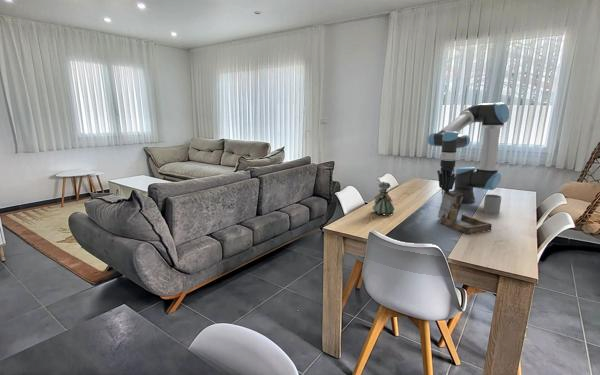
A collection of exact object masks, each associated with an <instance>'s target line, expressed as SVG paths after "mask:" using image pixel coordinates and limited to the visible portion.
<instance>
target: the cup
mask: <svg viewBox="0 0 600 375" xmlns="http://www.w3.org/2000/svg"><path fill="white" fill-rule="evenodd" d="M501 201H502V196H501V195H498V194H485V195H484V204H483V213H485V212H486V213H485V214H489V215H499V214H500V210H501V203H502V202H501Z"/></svg>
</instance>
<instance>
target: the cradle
mask: <svg viewBox="0 0 600 375" xmlns="http://www.w3.org/2000/svg"><path fill="white" fill-rule="evenodd" d="M439 224H441V225H442V226H443V225H444V226H445V227H448V228H451V229H453V230H455V231H457V232H460V233H461V234H464V235H467V234H468V235H472V234H471V233H473V234H478V233H477V232H479V233H483V231H485V232H489V231H488V230H491V231H492V223H490V222H487V221H484V220H481V219H478V218H477V217H476V218H475V217H473V216H470V215H467V214H464V213H461V217H460V218H459V219H458V218H457V219H456V220H449V219H447V218H444V217H441V219H440V223H439Z"/></svg>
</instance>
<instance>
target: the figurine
mask: <svg viewBox="0 0 600 375" xmlns="http://www.w3.org/2000/svg"><path fill="white" fill-rule="evenodd" d="M378 188H379V193H378V194H377V195H375V196H374V205H373V206H372V209H373V211H374V212H375V213H376V212H377V213H376V214H377V215H379V214H385V215H391V214H393V215H394V211H395V207H394V205H393V203H392V201H393V199H392V198H391V197H390V195H389V191H388V189H390V188H391V184H390V183H389V182H385V181H381V182H379V184H378Z"/></svg>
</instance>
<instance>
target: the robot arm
mask: <svg viewBox="0 0 600 375" xmlns="http://www.w3.org/2000/svg"><path fill="white" fill-rule="evenodd" d="M509 119H510V109H509V107H508V105H507V104H506V103H504V102H492V103H490V102H487V103H476V104H474V105H472V106H470V107H468V108H466V109H464V110H463V111H461V112H460V113H459V115H458V116H457V117H456V118H455V119H453V120H452V121H451V122H449V123H448V124H447V125H446V126H445V127H444V128H442V129H441V130H440V131H438V132H437V133H436V132H432V133H430V134H429V135H428V137H427V141H428V142H427V143H428V145H429V146H431V147H441V152H440V153H441V154H440V164H439V165H440V169H439V170H437V172H436V173H437V175H438V176H437V177H438V186H439V188H440V189H441V200H442V199H443V196H444V192H449V191H454V190H456V191H458V192H460V193H462V194H464V198H463V201H462V204H471V203H472V204H473V203H475V202H476V197H475V191H474V188H476V189H480V190H481V189H482V190H485V191H494V190H496V189H497V188H498V187H499V184H500V183H501V179H502V174H501V173H500V172H498V170H499V169H498V168H497V167H496V165H497V164H496V163H497V158H498V157H497V156H498V149H499V141H500V134H501V128H502V127H504V125H505V123H508V120H509ZM473 123H474V124H475V123H481V126H482V127H483V129H484V130H483V138H482V146H481V153H480V154H481V155H480V161H479V162H480V163H479V166H478V167H474V166H465V167H464V166H463V167H457V168H456V170H455V167H456V158H457V150H458V149H462V148H466V147H468V146H469V145H470V143H471V138H470V136H469V135H468V134H465V133H460V132H461V131H462V130H463V129H464V128H465V127H467V126H469V125H472V124H473ZM459 133H460V134H459ZM453 188H454V189H453Z"/></svg>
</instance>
